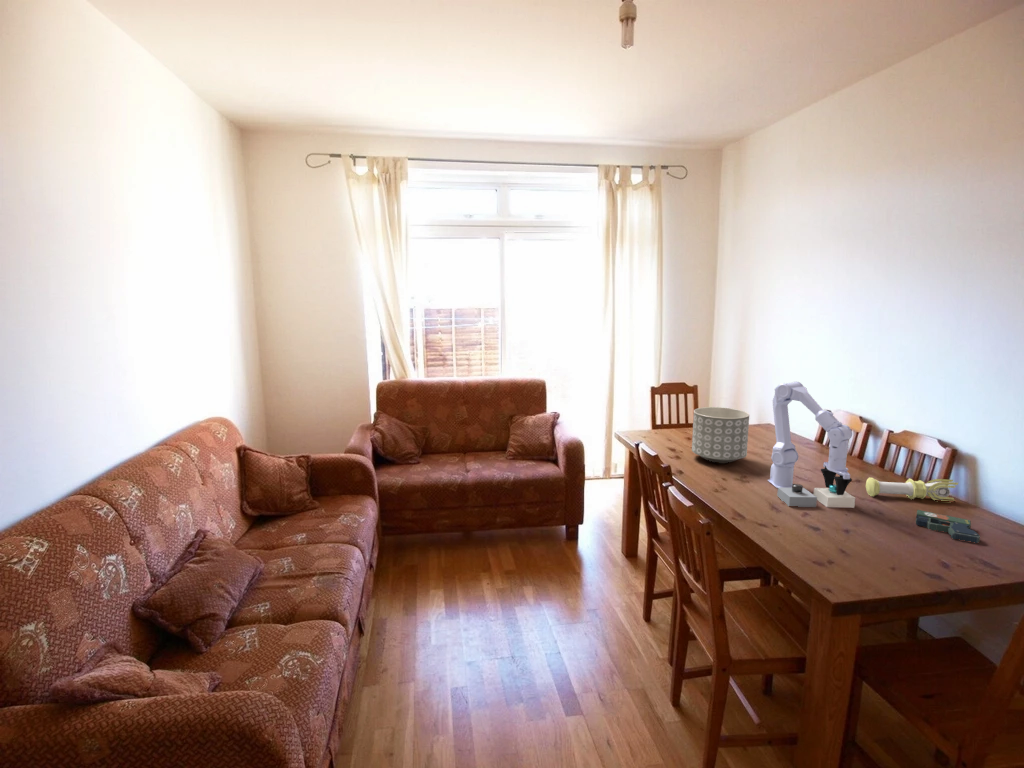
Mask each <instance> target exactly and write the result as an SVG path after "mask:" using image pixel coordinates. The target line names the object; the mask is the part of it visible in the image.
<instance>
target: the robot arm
mask: <svg viewBox="0 0 1024 768" xmlns="http://www.w3.org/2000/svg"><path fill="white" fill-rule="evenodd" d="M792 401H798V402H800V403H801V404H802V405H803V406H805V407H806V408H807V409H808V410H809V411H810V412H811V413H812V414H813V415H814V416H815V417H814V419H815V421H816V422H817V423H818V425H819V426H821V427H822V429H823V430H824V431H825V432H826V433H827V438H828V439H829V451H828V461H824V462H823V468H821V469H820V471H821V474H822V476H823V479H824V484H825V488H829V485H830V484H834V482H835V485H836V493H837V495H843V494H844V492H846V489H847V487H848V486H849V485H850V484H851V482H852V480H853V479H852V477H851V474H850V473H849V472H848V471H849V468H848V467H847V466H846V465H847V456H848V448H849V447H848V446H849V445H848V444H849V440H850V439H851V438H852V436H853V432H852V431H853V430H852V429H851V428H850V426H848V425H846V424H843V423H842V422H841V421H840V420H838V419H837V418H836V417H835V415H834V413H833V412H832V411H829V410H826V409H825V410H824V409H823V408H822V406H820V404H818V402H817V401H816V400H815V399H814V397H812V396H811V394H810V393H809V392H808V389H807V387H805V386H804V385H803V384H802V382H799V381H792V382H786V383H785V382H783V383H779V384H778V385H777V386H776V387H775V388H774V395H773V398H772V411H773V420H774V421H773V422H774V431H775V432H774V433H775V440H776V443H775V444H774V445H773V447H772V454H771V455H770V456H771V461H772V464H771V466H770V472H769V473H770V474H769V475H770V476H769V479H767V482H769V483H770V484H771V485H773V486H774V487H775V488H776V489H778V487H780V488H792V484H794V483H793V481H794V480H793V479H794V473H795V472H794V470H795V469H794V468H795V463H797V462H798V460H799V454H798V451H797V448H796V445H795V444H794V443H793V442H792V440H791V439H792V437H791V426H790V417H789V415H790V414H789V408H788V405H789V404H790V403H791V402H792ZM837 475H839V476H837Z"/></svg>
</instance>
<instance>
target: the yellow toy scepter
mask: <svg viewBox="0 0 1024 768" xmlns="http://www.w3.org/2000/svg"><path fill="white" fill-rule="evenodd" d="M953 481H954V479H946V478H945V479H944V478H933V479H931V480H929V481H927V482H924V481H923V480H913V479H912V478H908V479H907V480H906V481H905V482H893V481H892V482H890V481H889V482H888V481H879V480H878V479H875V478H874V477H868V478H867V479H866V482H865V490H866V493H867V495H868V496H869V495H870V497H875V496H878V495H879V494H889V495H890V494H891V495H904V496H905V495H906V497H907V496H908V497H907V498H908V499H910V500H912V499H913V500H914V499H916V498H918V499H921V500H924V499H925V498H926V497H927V498H930V497H931V498H930V499H932V500H933V501H935V500H941V501H955V498H954V497H949V496H950V494H951V490H950V489H951V488H953V489H955V488H956V487H957V485H959V482H953Z"/></svg>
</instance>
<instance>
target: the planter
mask: <svg viewBox="0 0 1024 768" xmlns="http://www.w3.org/2000/svg"><path fill="white" fill-rule="evenodd" d="M692 417H693V420H692V437H691V439H692V441H691V452H692V453H694V454H695V455H697V456H700V458H702V459H705V460H706V461H708V460H709V461H708V462H711V461H712V462H711V463H715V462H719V463H718V464H728V462H729V463H734V462H735V461H737V460H742V459H745V458H746V457H747V455H748V441H749V425H750V413H749V412H747V411H745V410H741V409H737V408H730V407H719V406H717V407H715V406H709V407H705V406H704V407H698V408H695V409H693V416H692Z"/></svg>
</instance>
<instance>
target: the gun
mask: <svg viewBox="0 0 1024 768" xmlns="http://www.w3.org/2000/svg"><path fill="white" fill-rule="evenodd" d="M971 522H972V521H971V520H970V519H967V518H961V517H957V516H952V515H951V516H950V515H946V514H940V513H935V512H931V511H925V510H922V509H916V517H915V524H916V526H918V525H919V527H922V526H924V528H926V529H927V528H928V529H927V530H929V529H931V530H930V531H934V530H936V531H935V532H940V531H944V532H948V533H947V534H949V536H950V535H951V536H950V538H951V539H952V538H953V539H952V540H954V539H960V540H965V541H971V542H975V543H974V544H976V543H978V542H979V543H980V539H981V536H980V534H979V533H978V532H977V531H975V530H973V529H971V527H972V523H971ZM937 530H938V531H937ZM944 532H943V533H944ZM960 540H959V541H960ZM965 541H964V542H965ZM979 543H978V544H979Z"/></svg>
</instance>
